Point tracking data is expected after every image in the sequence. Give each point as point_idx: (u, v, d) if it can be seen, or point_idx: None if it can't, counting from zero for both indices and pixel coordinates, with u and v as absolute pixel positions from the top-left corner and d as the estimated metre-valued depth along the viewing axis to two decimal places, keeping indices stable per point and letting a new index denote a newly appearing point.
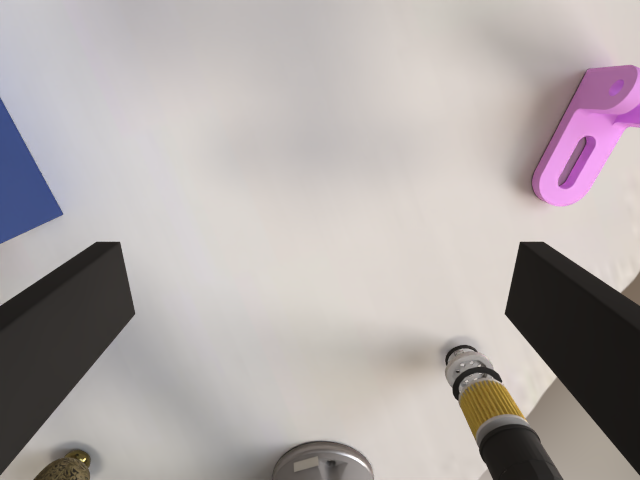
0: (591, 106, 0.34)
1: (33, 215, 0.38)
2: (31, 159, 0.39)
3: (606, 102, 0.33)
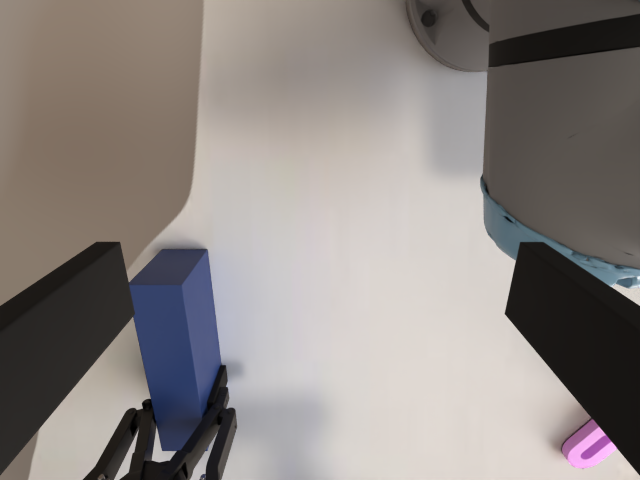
0: None
1: None
2: (220, 360, 0.51)
3: None
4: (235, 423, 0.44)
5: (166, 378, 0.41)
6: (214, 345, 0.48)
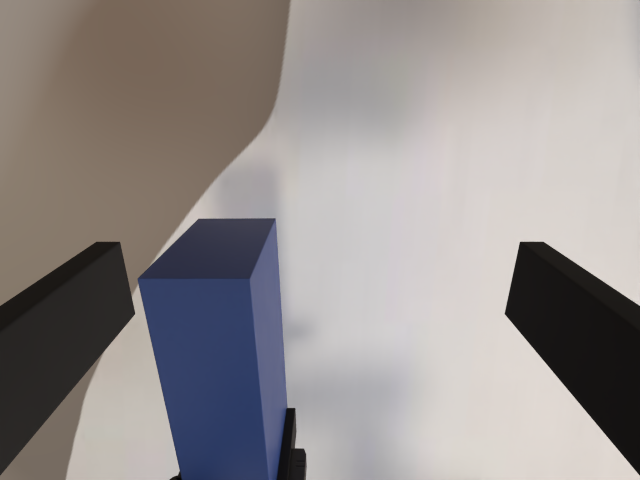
0: None
1: None
2: (286, 400, 0.32)
3: None
4: None
5: (212, 451, 0.22)
6: (281, 380, 0.29)
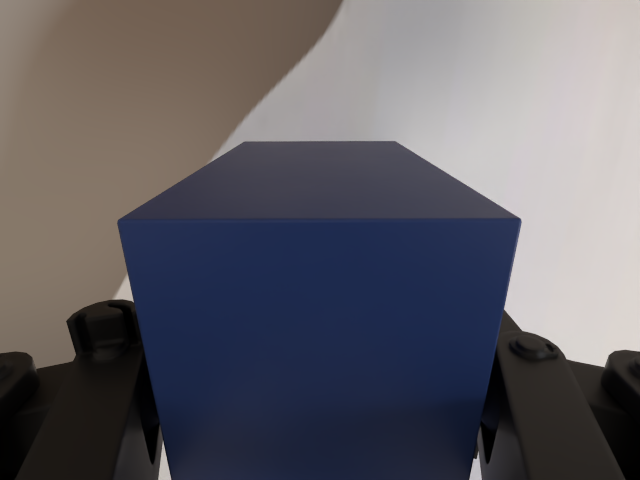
0: None
1: None
2: None
3: None
4: None
5: None
6: None
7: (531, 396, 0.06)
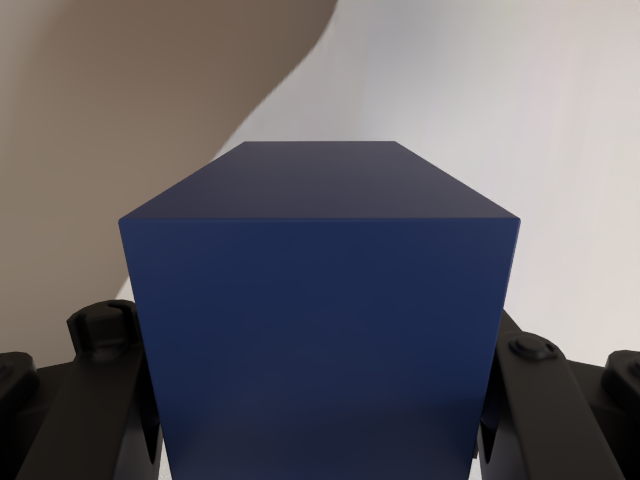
0: None
1: None
2: None
3: None
4: None
5: None
6: None
7: (531, 396, 0.06)
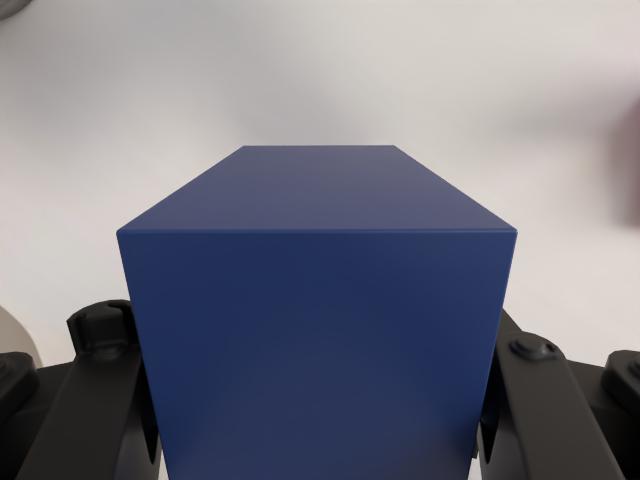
0: None
1: None
2: None
3: None
4: None
5: None
6: None
7: (531, 396, 0.06)
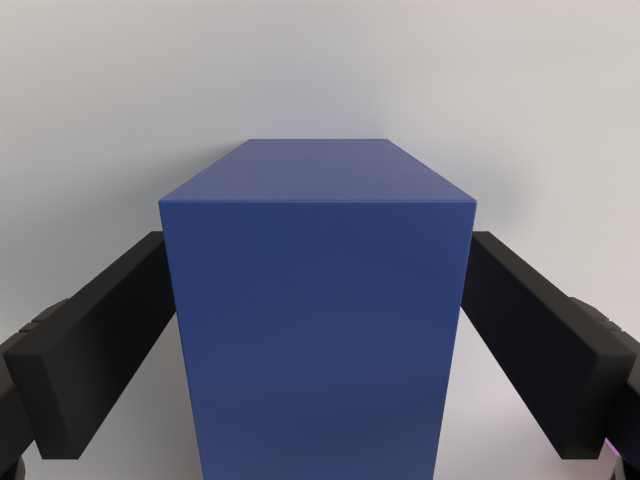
0: None
1: None
2: None
3: None
4: None
5: None
6: None
7: None
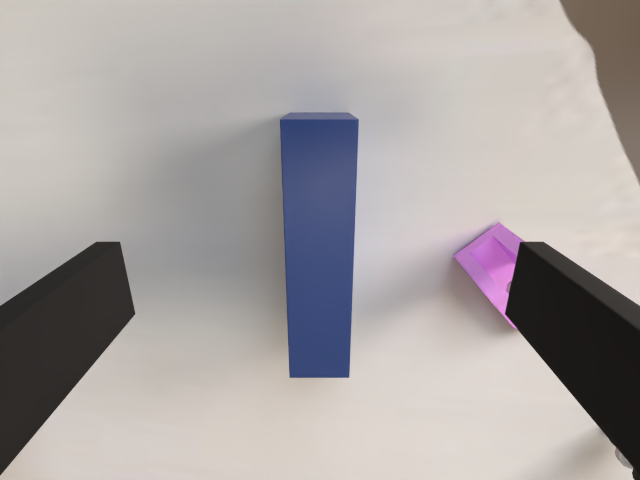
0: None
1: None
2: None
3: None
4: None
5: (313, 268, 0.30)
6: None
7: None
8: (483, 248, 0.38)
